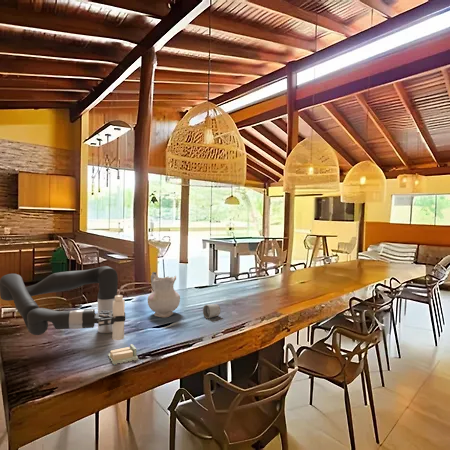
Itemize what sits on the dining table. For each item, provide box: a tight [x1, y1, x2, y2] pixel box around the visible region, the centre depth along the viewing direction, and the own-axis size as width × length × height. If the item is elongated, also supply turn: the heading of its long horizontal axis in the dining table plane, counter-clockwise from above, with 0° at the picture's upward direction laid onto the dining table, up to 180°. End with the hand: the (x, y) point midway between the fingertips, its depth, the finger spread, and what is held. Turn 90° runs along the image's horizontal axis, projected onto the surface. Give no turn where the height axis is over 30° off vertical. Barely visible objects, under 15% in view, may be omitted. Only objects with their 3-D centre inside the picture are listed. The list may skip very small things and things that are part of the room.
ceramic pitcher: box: [147, 271, 181, 319], centre depth 211 cm, size 22×20×25 cm
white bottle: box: [111, 294, 126, 341], centre depth 148 cm, size 5×5×18 cm
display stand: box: [107, 343, 139, 365], centre depth 149 cm, size 10×10×4 cm
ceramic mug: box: [202, 303, 221, 319], centre depth 208 cm, size 11×8×8 cm
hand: (125, 316), depth 149 cm, fingers closed on white bottle, 4 cm apart
